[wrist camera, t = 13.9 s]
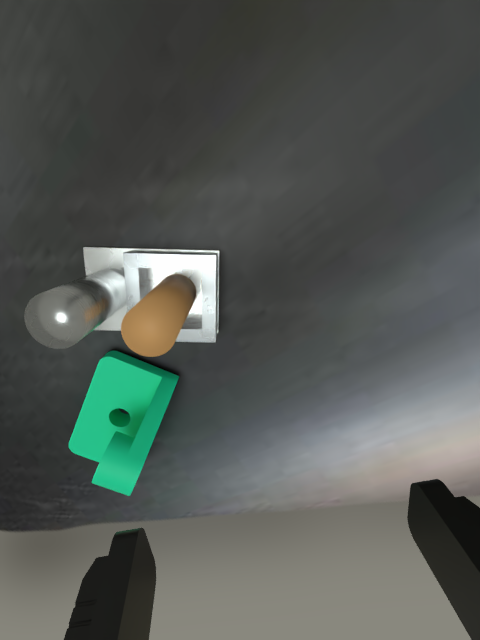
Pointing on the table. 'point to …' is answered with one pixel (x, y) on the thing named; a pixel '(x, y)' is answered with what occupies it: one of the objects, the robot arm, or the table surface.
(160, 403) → the camera mount
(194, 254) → the clear post on plate
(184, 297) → the tan rounded cylinder
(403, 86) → the table surface
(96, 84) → the table surface
